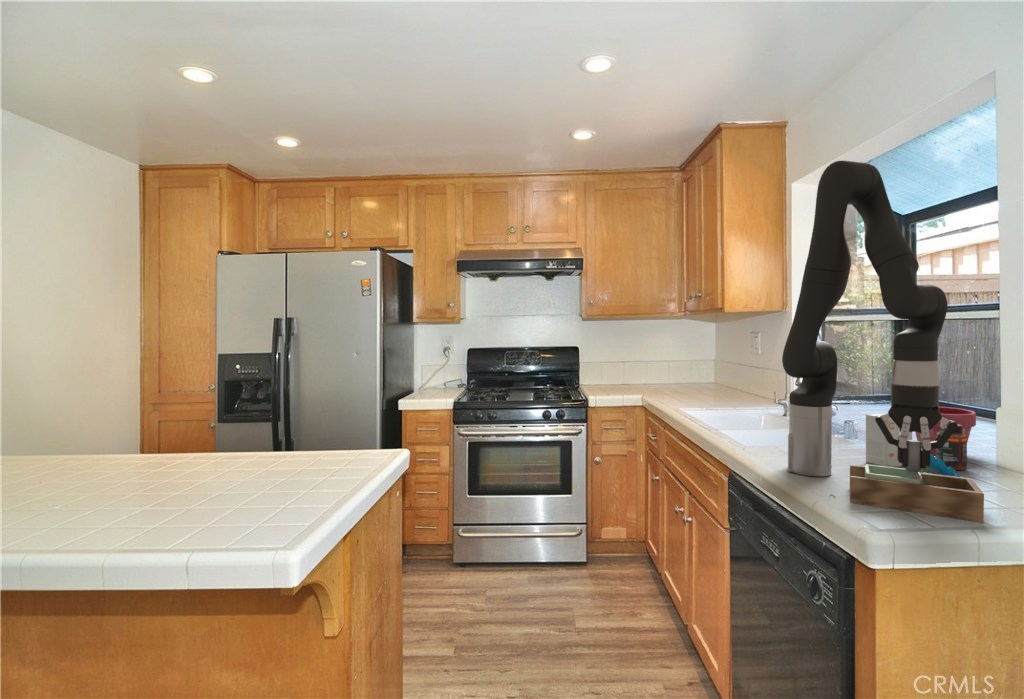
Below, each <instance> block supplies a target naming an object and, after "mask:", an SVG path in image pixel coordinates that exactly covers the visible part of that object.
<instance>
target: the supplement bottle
mask: <svg viewBox="0 0 1024 699" xmlns="http://www.w3.org/2000/svg"><path fill="white" fill-rule="evenodd" d="M957 425H958V426H957V428H956V429H955V431H954V432H953V433H952V435H951V436H950V438H949V439H948V440H947V442H946V443H945V444H944V446H943V447H942V448H940V449H939V448H936V457H935V458H936V459H937V460H938V459H940V460H942V461H944V462H945V465H946V467H948V468H949V467H951V468H953V469H954V470H955V471H966V470H967V469H968V442H967V436H966V435H965V434H964V433H962V431H961V430H962V425H959V424H957ZM941 430H942V428H941ZM941 430H940V431H939V432H937V434H936V437H937V436H938V435H939V433H940V432H941Z"/></svg>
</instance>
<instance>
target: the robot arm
mask: <svg viewBox="0 0 1024 699" xmlns="http://www.w3.org/2000/svg"><path fill="white" fill-rule="evenodd" d="M848 205H849V206H852V207H854V209H855V210H856V211H857V213H858V214H859V216H860V218H861V219H862V222H863V225H864V241H863V242H864V248H865V254H866V255H867V258H868V260H869V261H870V264H871V266H872V268H873V269H874V271H875V273H876V275H877V276H878V280H879V281H878V282H879V288H880V295H881V300H882V304H883V305H884V307H885V309H886V311H887V312H888V313H889V314H890V315H891V316H892V317H895V318H897V319H900V320H907V324H906V328H905V330H903V331H901V332H899V333H896V334H895V336H894V338H893V355H892V356H893V357H892V359H893V361H892V366H891V375H890V376H891V377H890V380H891V385H890V386H891V390H890V391H891V392H890V393H891V398H890V399H891V400H890V404H891V405H890V408H889V409H888V411H887V414H886V413H883V414H884V415H881V416H879V415H877V416H875V421H876V423H877V424H878V426H879V428H880V429H881V431H882V433H883V435H884V436H885V438H886V440H887V441H888V443H889V444H893V445H895V446H897V447H898V452H897V459H898V461H899V463H901V464H902V466H901V467H906V466H907V448H906V443H907V438H908V433H909V432H912V433H913V432H914V433H915V432H918V433H920V437H921V443H922V448H921V468H925V469H926V466H929V465H930V452H931V450H932V449H936V448H939V449H940V448H942V447H943V446H944V444H945V443H946V442H947V440H948V439H949V438H950V436H951V435H952V433H953V432H954V431H955V429H956V428H957V426H958V425H957V423H956V422H954V421H952V420H948V419H946V418H944V417H942V415H941V413H940V411H939V407H940V399H939V398H940V369H939V368H940V367H939V361H938V359H939V358H938V355H939V353H938V352H939V342H938V341H939V338H940V335H941V333H942V330H943V326H944V322H945V319H946V316H947V312H948V299H947V295H946V293H945V291H943V289H941V288H940V287H939V286H936V285H935V284H917V283H916V282H915V280H914V277H913V275H915V274H916V273H917V272H918V270H919V268H920V265H919V261H918V260H917V257H916V256H915V254H914V252H913V250H912V248H911V247H910V245H909V243H908V241H907V240H906V238H905V236H904V234H903V233H902V231H901V228H900V226H899V224H898V222H897V220H896V217H895V213H894V211H893V208H892V206H891V203H890V199H889V196H888V192H887V190H886V186H885V184H884V180H883V178H882V175H881V173H880V171H879V169H878V168H877V167H876V166H875V165H873V164H871V163H867V162H861V161H860V162H859V161H850V160H837V161H833V162H831V163H830V164H829V165H827V166H826V168H825V169H824V170H823V172H822V174H821V176H820V177H819V181H818V185H817V190H816V199H815V210H814V217H813V218H814V219H813V226H812V233H811V238H810V244H809V249H808V254H807V259H806V263H805V266H804V270H803V275H802V276H803V277H802V280H801V287H800V291H799V296H798V300H797V304H796V309H795V312H794V316H793V317H794V318H793V320H792V323H791V326H790V330H789V332H788V336H787V337H786V341H785V345H784V348H783V351H782V357H781V360H782V361H781V363H782V367H783V370H784V372H785V373H786V374H787V375H788V376H789V377H792V378H796V379H802V381H801V383H800V385H799V386H798V387H796V388H795V389H794V390H792V391H791V392H790V393H789V397H788V398H789V401H788V403H789V404H788V409H789V410H788V414H789V415H788V418H789V420H788V422H789V423H788V430H789V431H788V435H787V472H790V473H795V474H799V475H801V476H808V477H828V476H831V475H832V468H833V467H832V466H833V465H832V452H833V449H832V448H833V446H832V442H833V441H832V438H833V437H832V434H833V433H832V432H833V431H832V430H833V427H832V426H833V418H832V417H833V415H832V414H833V408H832V407H833V406H832V405H833V399H834V397H835V395H836V392H837V381H838V366H839V365H838V362H839V360H838V355H837V352H836V350H835V348H834V347H833V345H832V344H831V343H829V342H828V341H823V340H818V337H819V335H820V331H821V328H822V326H823V323H824V322H825V320H826V319H827V317H828V316H829V315H830V313H831V312H832V311H833V310H834V308H835V307H836V306H837V304H838V303H839V302H840V300H841V299H842V297H843V295H844V294H845V293H846V292H845V291H846V289H847V285H848V281H849V277H850V272H851V267H852V257H851V251H850V248H849V245H848V241H847V238H846V233H845V219H846V213H847V209H848ZM889 418H891V419H892V420H893V421H894V422H895V424H896V425H897V426H898V427H899V428H900V429H899V436H898V439H896V438H893V436H892V435H891V433H890V431H889V430H888V428H887V426H886V425H888V424H889V421H888V420H889ZM939 421H940V422H941V425H940V426H941V428H942V430H941V432H940V433H939V435H938V436H937V437H936V439H935V440H934V441H931V442H930V434H929V431H930V430H931V429H932V428H933V427H934V426H935V425H936V424H937V423H938V422H939Z"/></svg>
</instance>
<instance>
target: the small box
mask: <svg viewBox="0 0 1024 699" xmlns="http://www.w3.org/2000/svg"><path fill="white" fill-rule="evenodd" d="M887 413H888V412H887ZM887 413H870V414H865V462H866V463H869V464H871V465H877V466H885V467H894V468H900V467H903V466H902V464H901V463H899V461H898V459H897V452H898V447H897V446H895V445H893V444H889V443H888V441H887V440H886V438H885V436H884V435H883V433H882V431H881V429H880V428H879V426H878V424H877V423H876V421H875V416H877V415H879V416H881V415H884V414H887ZM888 421H889V424H888V425H886V426H887V428H888V430H889V431H890V433H891V435H892V436H893V438H896V439H898V436H899V429H900V428H899V427H898V426H897V425H896V424H895V422H894V421H893V420H892V419H891V418H889V420H888ZM907 440H913V432H909V433H908V438H907Z"/></svg>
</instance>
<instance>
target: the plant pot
mask: <svg viewBox="0 0 1024 699" xmlns="http://www.w3.org/2000/svg"><path fill="white" fill-rule="evenodd" d="M939 411H940V413H941V415H942V417H944V418H946V419H948V420H952V421H954V422H956V423H957V424H959V425H962V430H961V431H962V433H964V434H965V435H966V436H967V443H968V442H969V439H970V435H971V431H972V428H974V427H976V425H977V414H976V412H975V411H974V410H970V409H964V408H958V407H951V406H950V407H949V406H939ZM940 425H941V422H940V421H939V422H938V423H937V424H936V425H935V426H934V427H933V428H932V429H931V430H930V431H929V434H930V442H931V441H934V440H935V439H936V434H937V432H939V431H940V430H941V426H940ZM914 433H915V436H916V441H920V442H921V437H920V433H918V432H914ZM921 448H922V443H921ZM930 454H932V455H933V456H936V449H932V450H931V452H930Z"/></svg>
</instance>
